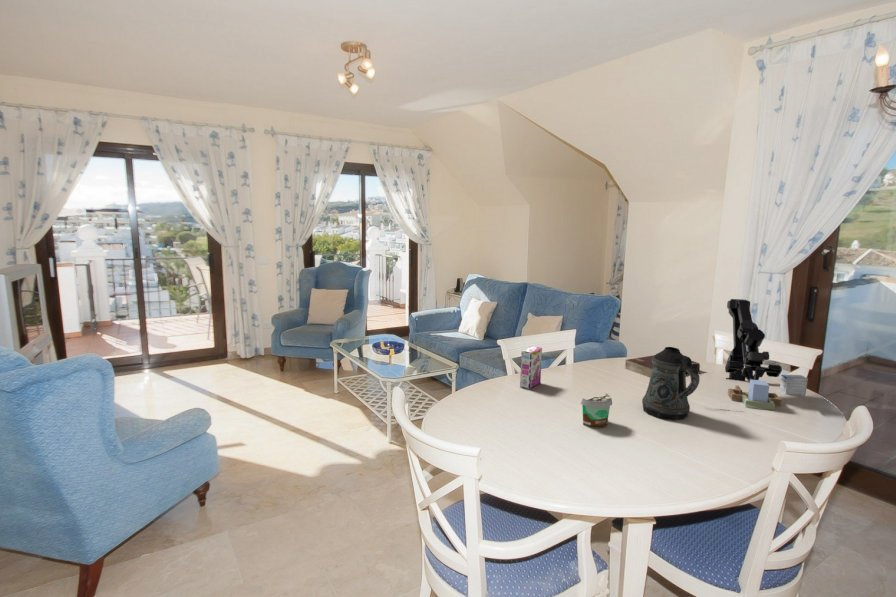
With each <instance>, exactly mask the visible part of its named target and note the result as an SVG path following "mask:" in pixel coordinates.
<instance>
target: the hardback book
mask: <svg viewBox="0 0 896 597" xmlns="http://www.w3.org/2000/svg"><path fill="white" fill-rule="evenodd" d="M654 355H655V354H654ZM654 355H647V356H641V357H635V358H629V359H628V358H626V359H625V365H624V367H625V368H624V369H625V370H628V371H631V372H634V373H636V374H639V375H642V376H644V377H645V376H646V377H647V378H650V377H651V373H652V369H653V363H652V357H653V356H654ZM691 361H692V364H691V365H692V366H694V367H695V368H696V369H697V370H698V373H699V372H700V368H701V364H700V362H697V361H694V360H691ZM685 375H689V374H688V373H687V372H685Z"/></svg>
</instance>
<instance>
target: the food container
mask: <svg viewBox="0 0 896 597" xmlns="http://www.w3.org/2000/svg"><path fill="white" fill-rule="evenodd" d="M581 399H582V400H581V402H580V404H581V406H582V425H583V426H584V427H585V426H586V428H587V427H588V428H591V429H602V428H603V429H604V428H606V427H607V426H608V422H609V414H610V408H611V406H612V405H613V399H612V397H611V395H610V394H609V393H605V395H603V396H594V397H592V398H589V399H586V398H583V397H582V398H581Z"/></svg>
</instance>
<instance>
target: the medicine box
mask: <svg viewBox="0 0 896 597" xmlns="http://www.w3.org/2000/svg"><path fill="white" fill-rule="evenodd" d="M780 376H781V377H780V383H779V384H780V386H779V392H781V393H783V394H784V395H797V396H798V395H800V396H801V397H802V398H804V399H806V397H807V396H806V394H807V388H808V377H806V376H803V375H801V374H781V375H780Z"/></svg>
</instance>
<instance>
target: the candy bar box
mask: <svg viewBox="0 0 896 597" xmlns="http://www.w3.org/2000/svg"><path fill="white" fill-rule="evenodd" d="M520 357H521V360H520V379H519V380H520V381H519V382H520V384H519V385H520V386H519V387H520V388H521V387H522V389H525V388H526V389H525V390H530V389H532V388H534V387H536V386H537V385H540V384H541V379H542V378H541V377H542V358H543V348H542V347H539V346H531V347H529V348H526V349H524V350H522V351H521V356H520Z"/></svg>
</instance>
